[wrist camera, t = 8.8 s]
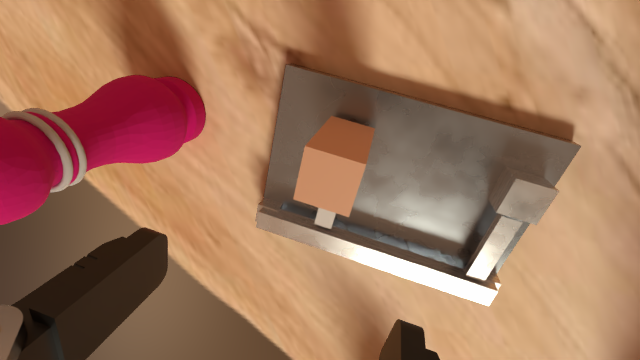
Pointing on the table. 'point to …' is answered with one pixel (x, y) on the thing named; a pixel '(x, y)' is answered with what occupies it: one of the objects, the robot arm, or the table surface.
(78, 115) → the pepper mill
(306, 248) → the table surface
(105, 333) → the robot arm
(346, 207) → the block
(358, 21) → the table surface
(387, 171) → the hole plate
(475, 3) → the table surface
